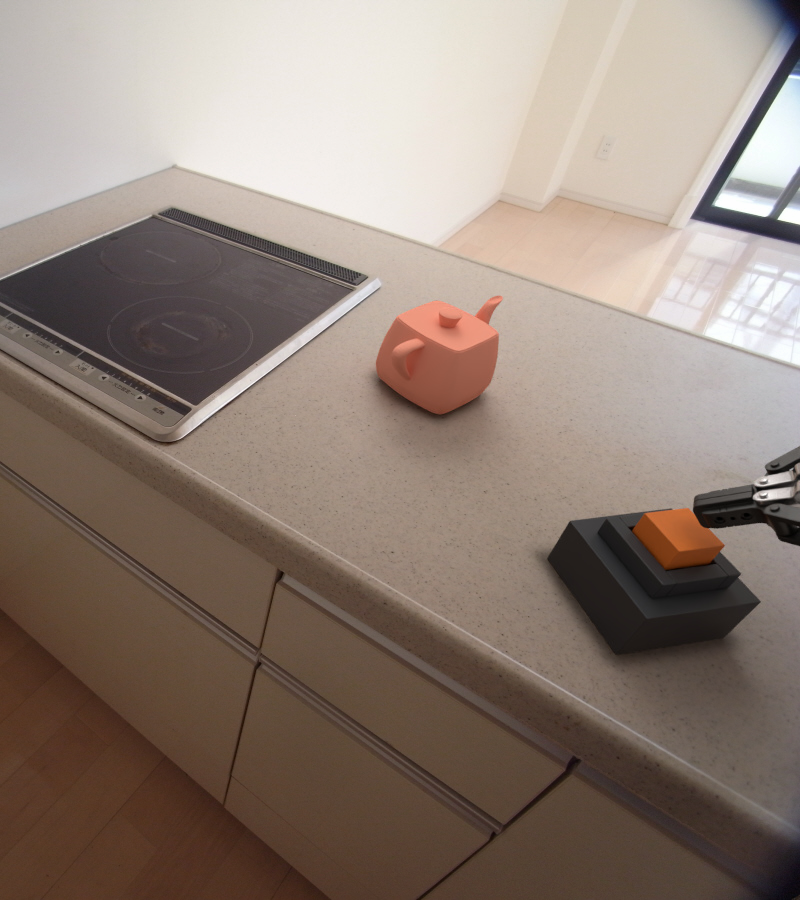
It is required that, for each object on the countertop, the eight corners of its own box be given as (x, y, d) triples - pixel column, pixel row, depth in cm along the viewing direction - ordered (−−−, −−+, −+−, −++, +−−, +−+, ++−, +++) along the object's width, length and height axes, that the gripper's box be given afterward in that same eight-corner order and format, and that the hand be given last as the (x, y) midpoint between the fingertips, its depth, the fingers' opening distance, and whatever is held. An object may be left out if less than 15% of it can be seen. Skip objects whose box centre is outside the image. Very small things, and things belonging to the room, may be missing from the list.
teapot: (346, 385, 79) (362, 309, 72) (442, 341, 87) (465, 269, 80) (418, 436, 72) (444, 358, 65) (516, 384, 80) (548, 309, 73)
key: (709, 564, 51) (726, 545, 49) (664, 570, 50) (679, 551, 49) (673, 526, 54) (688, 507, 52) (630, 532, 53) (644, 512, 52)
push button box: (724, 638, 53) (776, 587, 49) (615, 655, 52) (659, 605, 47) (643, 545, 61) (682, 493, 56) (546, 558, 59) (578, 506, 55)
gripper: (1013, 348, 39) (683, 427, 53) (1078, 472, 31) (667, 529, 44) (1053, 445, 41) (721, 498, 54) (1125, 588, 33) (713, 610, 46)
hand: (697, 512), depth 49 cm, fingers closed
